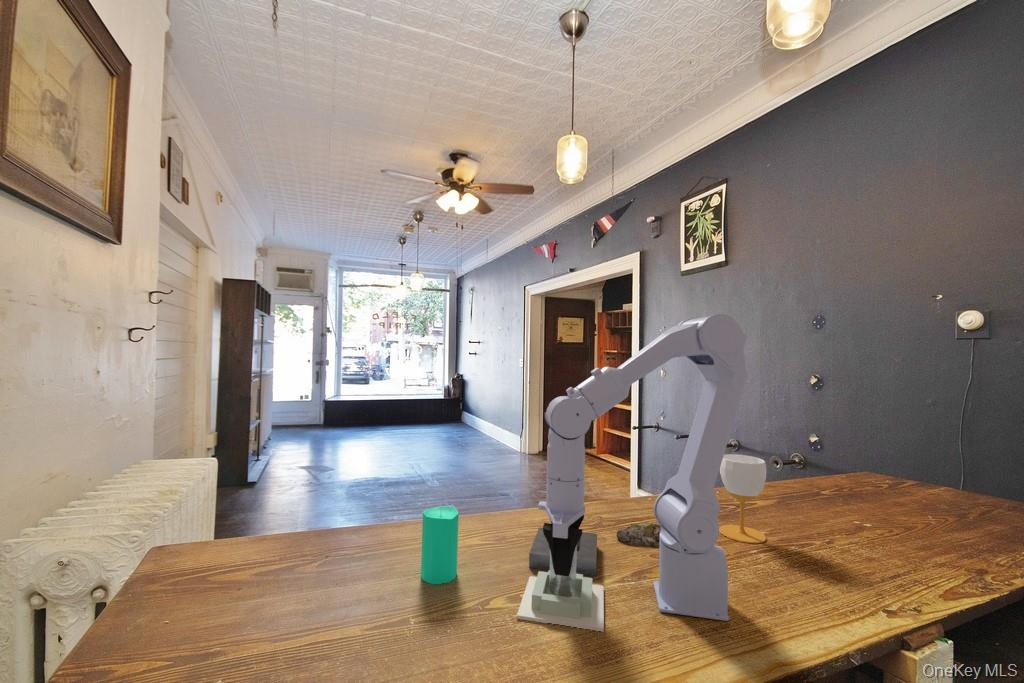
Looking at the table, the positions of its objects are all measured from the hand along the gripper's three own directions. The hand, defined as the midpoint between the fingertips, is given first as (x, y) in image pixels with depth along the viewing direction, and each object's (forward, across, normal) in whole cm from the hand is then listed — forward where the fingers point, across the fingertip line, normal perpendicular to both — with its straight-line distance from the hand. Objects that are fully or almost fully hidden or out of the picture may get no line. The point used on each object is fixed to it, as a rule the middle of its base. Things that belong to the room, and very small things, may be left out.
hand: (563, 566), depth 65 cm
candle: (+6, -3, -21) cm, 22 cm away
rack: (+5, 0, 0) cm, 5 cm away
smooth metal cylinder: (+3, 0, 0) cm, 3 cm away
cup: (+6, -35, +35) cm, 50 cm away
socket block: (+5, -15, -1) cm, 16 cm away
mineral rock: (+6, -27, +14) cm, 31 cm away
